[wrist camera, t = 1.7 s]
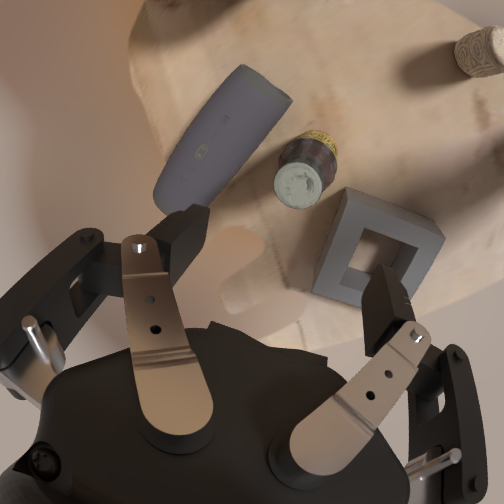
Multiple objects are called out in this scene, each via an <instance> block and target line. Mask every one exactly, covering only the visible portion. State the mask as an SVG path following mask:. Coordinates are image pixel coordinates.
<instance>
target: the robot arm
mask: <svg viewBox="0 0 504 504" xmlns="http://www.w3.org/2000/svg"><path fill="white" fill-rule="evenodd" d="M209 214H210V209H209V208H208V207H205V206H201V205H198V204H195V203H193V204H192V205H191V206H190V207H188V208H187V209H186V210H185V211H181V210H179V211H176V212H173V213H171V214H169V215H168V216H167V217H166V218H165V219H163V220H162V221H161V222H160V224H157V225H156V226H155V227H154V228H153V229H151V230H150V231H149V232H148V233H147V234H146V235H142V234H136V235H131V236H128V237H126V238H125V239H124V240H123V241H122V243H121V244H118V243H111V242H104V235H103V232H102V231H100V230H98V229H96V228H84V229H81V230H78V231H76V232H75V233H74V234H73V235H71V236H70V237H68V238H67V239H66V240H65V241H63V242H62V243H61V244H60V245H59V246H57V247H56V248H55V249H54V250H53V251H51V252H50V253H49V254H48V255H47V256H45V257H44V258H43V259H42V260H41V261H40V262H38V263H37V264H36V265H35V266H34V267H33V268H32V269H31V270H30V271H29V272H27V273H26V274H25V275H24V276H23V277H22V278H21V279H20V280H19V281H18V282H17V283H16V284H15V285H14V286H13V287H12V288H10V289H9V290H8V291H7V292H6V293H5V294H4V295H3V296H2V297H1V298H0V383H1V384H2V385H3V386H5V387H6V388H7V390H8V391H9V392H10V393H11V394H12V395H13V396H14V397H15V398H17V399H19V400H28V401H30V402H31V403H32V404H33V405H35V406H36V407H37V408H39V409H40V410H41V414H40V422H39V427H38V431H37V434H36V438H35V440H34V442H33V444H32V446H31V447H30V448H29V450H28V451H27V452H26V453H25V454H24V455H23V456H22V457H20V458H19V459H18V460H17V461H16V462H15V463H13V464H12V465H11V466H10V467H8V468H7V469H6V470H5V471H4V472H3V473H2V474H1V476H0V504H476V503H479V502H480V501H481V500H482V499H483V497H484V496H485V494H486V491H487V486H488V472H487V456H486V445H485V437H484V429H483V422H482V416H481V410H480V405H479V400H478V395H477V390H476V386H475V382H474V378H473V373H472V370H471V366H470V362H469V359H468V356H467V355H466V353H465V352H464V351H463V349H461V348H460V347H459V346H457V345H455V344H450V345H448V346H447V347H446V348H445V350H444V351H442V350H440V349H439V348H437V347H435V346H433V345H432V344H431V336H430V334H429V332H428V331H427V330H426V329H425V328H424V327H423V326H422V325H421V324H419V323H417V322H416V319H415V316H414V312H413V309H412V305H411V302H410V299H409V296H408V293H407V290H406V288H405V287H404V286H403V284H402V283H401V282H400V281H399V280H398V277H397V274H396V271H395V269H394V268H391V267H388V266H386V265H383V264H379V265H378V266H377V268H376V269H375V271H374V273H373V275H372V277H371V279H370V280H369V282H368V284H367V286H366V288H365V289H364V292H363V294H362V298H361V307H362V317H363V329H364V341H365V356H368V357H372V359H371V360H370V361H369V362H368V363H367V364H366V365H365V366H364V367H363V368H362V369H361V370H360V371H359V372H358V373H357V374H356V375H355V376H354V377H353V378H352V379H351V380H350V381H349V382H347V381H346V380H345V379H344V378H343V377H342V376H341V375H339V374H338V373H337V372H336V371H334V370H332V369H331V368H329V367H327V360H328V358H327V357H325V356H321V355H318V354H314V353H310V352H307V351H303V350H299V349H287V348H276V347H269V346H266V345H264V344H263V343H261V342H259V341H257V340H255V339H254V338H252V337H250V336H248V335H246V334H245V333H243V332H241V331H239V330H236V329H233V328H230V327H228V326H225V325H222V324H219V323H216V322H213V321H211V322H210V324H209V326H208V328H207V329H205V328H186V329H184V327H183V323H182V320H181V317H180V313H179V310H178V307H177V303H176V300H175V296H174V293H173V289H172V288H173V286H174V285H175V284H176V282H177V281H178V279H179V278H180V277H181V276H182V274H183V273H184V272H185V270H186V269H187V268H188V266H189V265H190V264H191V262H192V261H193V260H194V259H195V257H196V256H197V255H198V253H199V252H200V251H201V249H202V248H203V245H204V242H205V239H206V232H207V226H208V220H209ZM77 277H78V281H77V282H76V283H75V284H74V285H73V287H71V288H70V285H71V284H72V282H73V281H74V280H75V279H76V278H77ZM107 295H110V296H116V297H123V298H124V304H125V313H126V322H127V330H128V337H129V344H130V347H129V348H127V349H124V350H121V351H118V352H116V353H113V354H110V355H107V356H104V357H101V358H98V359H95V360H92V361H89V362H86V363H84V364H81V365H77V366H74V367H71V368H69V369H66V370H64V371H62V370H63V367H64V365H65V360H66V358H65V353H64V351H65V350H66V348H67V347H68V346H69V344H70V343H71V342H72V340H73V339H74V337H75V336H76V335H77V334H78V332H79V331H80V330H81V328H82V327H83V326H84V324H85V323H86V322H87V321H88V319H89V318H90V317H91V315H92V314H93V313H94V312H95V310H96V309H97V308H98V307H99V305H100V304H101V303H102V302H103V300H104V299H105V298H106V297H107ZM405 390H407V391H408V407H409V408H408V409H409V458H408V463H407V464H406V466H405V467H403V466H402V464H401V463H400V461H399V460H398V458H397V457H396V455H395V454H394V452H393V451H392V449H391V448H390V446H389V444H388V443H387V441H386V440H385V438H384V437H383V435H382V433H381V432H380V431H379V429H378V426H379V425H380V423H381V422H382V421H383V420H384V418H385V417H386V416H387V414H388V413H389V412H390V411H391V409H392V408H393V406H394V405H395V404H396V402H397V401H398V400H399V398H400V397H401V395H402V394H403V392H404V391H405ZM442 392H444V394H445V406H444V408H443V410H442V411H441V412H440V413H439V405H438V396H439V395H440V394H441V393H442Z"/></svg>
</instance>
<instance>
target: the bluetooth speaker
mask: <svg viewBox="0 0 504 504" xmlns="http://www.w3.org/2000/svg"><path fill="white" fill-rule="evenodd" d="M292 101H293V100H292V99H291V98H290V97H289V96H288V95H287V94H286V93H284V92H283V91H282V90H280V89H278V88H277V87H275V86H274V85H273V84H271V83H270V82H269V81H268V80H267V79H266V78H265V77H263V76H262V75H261V74H259V73H258V72H256V71H255V70H253V69H251V68H250V67H248V66H246V65H244V64H241V65H240V66H238V67H237V68H236V69H235V70H234V71H233V72H232V73H231V74H230V75H229V76H228V77H227V78H226V79H225V81H224V82H223V83H222V84H221V85H220V86H219V88H218V89H217V90H216V91H215V93H214V94H213V95H212V96H211V97H210V99H209V100H208V101H207V103H206V104H205V105H204V106H203V108H202V109H201V110H200V112H199V113H198V115H197V116H196V117H195V119H194V120H193V122H192V123H191V124H190V125H189V127H188V129H187V130H186V132H185V133H184V135H183V137H182V138H181V140H180V141H179V143H178V144H177V146H176V148H175V149H174V151H173V153H172V154H171V156H170V158H169V160H168V161H167V163H166V165H165V167H164V169H163V171H162V173H161V175H160V177H159V178H158V181H157V183H156V186H155V188H154V191H153V198H154V202H155V204H156V205H157V207H158V208H159V209H160V210H161V211H162V212H163V213H164V214H165V215H167V216H168V215H169V214H171V213H173V212H176V211H179V210H181V211H185V210H186V209H187V208H188V207H190V206H191V205H192V204H193V203H195V204H198V205H201V206H205V207H208V205H209V204H210V203H211V202H212V201H213V200H214V198H215V197H216V196H217V195H218V194H219V193H220V191H221V190H222V189H223V188H224V187H225V186H226V185H227V183H228V182H229V181H230V180H231V179H232V178H233V176H234V175H235V174H236V173H237V172H238V171H239V169H240V168H241V167H242V166H243V164H244V163H245V162H246V161H247V160H248V158H249V157H250V156H251V155H252V154H253V152H254V151H255V150H256V149H257V147H258V146H259V145H260V144H261V142H262V141H263V140H264V139H265V137H266V136H267V135H268V133H269V132H270V131H271V130H272V128H273V127H274V126H275V125H276V123H277V122H278V121H279V120H280V118H281V117H282V116H283V114H284V113H285V112H286V110H287V109H288V108H289V106H290V105H291V103H292Z"/></svg>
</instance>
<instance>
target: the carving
mask: <svg viewBox="0 0 504 504" xmlns="http://www.w3.org/2000/svg"><path fill="white" fill-rule="evenodd" d="M454 54H455V58H456V61H457V63H458V65H459V67H460V68H461V69H462V70H463V71H464V72H465V73H467V74H468V75H470V76H472V77H476V78H479V77H488V76H493V75H497V74H500V73H503V72H504V28H503V27H500V26H497V25H493V26H488V27H484V28H483V29H481V30H478V31H475V32H473V33H469V34H467V35H465V36H464V37H463V38H461V39H460V40H459V41H458V42H457V44H456V45H455V49H454Z"/></svg>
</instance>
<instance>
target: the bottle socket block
mask: <svg viewBox="0 0 504 504" xmlns="http://www.w3.org/2000/svg"><path fill="white" fill-rule="evenodd" d="M364 228H366V229H369V230H372V231H374V232H377V233H380V234H383V235H385V236H388V237H391V238H393V239H396V240H399V241H401V242H404V243H403V245H402V247H401V249H400V251H399V253H398V255H397V257H396V259H395V261H394V263H393V264H392V266H391V268H394V269H395V271H396V274H397V277H398V280H399V281H400V282H401V283H402V284H403V286H404V287H405V288H406V290H407V293H408V296H409V299H410V300H411V299H412V297H413V296H414V294H415V292H416V291H417V289H418V287H419V286H420V284H421V283H422V281H423V279H424V278H425V276H426V274H427V272H428V271H429V269H430V267H431V265H432V264H433V262H434V260H435V258H436V256H437V255H438V253H439V251H440V249H441V247H442V245H443V243H444V241H445V239H446V238H445V236H444V235H443V233H442V232H441V231H440V229H439V228H438V226H437V225H436V224H435V222H434V221H432V220H429V219H427V218H425V217H422V216H420V215H418V214H415V213H413V212H411V211H408V210H406V209H403V208H401V207H398V206H396V205H393V204H391V203H388V202H386V201H383V200H380V199H378V198H375V197H372V196H370V195H367V194H364V193H362V192H359V191H356V190H353V189H350V188H347V187H346V188H345V190H344V193H343V196H342V199H341V202H340V205H339V208H338V210H337V213H336V216H335V219H334V221H333V224H332V227H331V230H330V232H329V235H328V238H327V240H326V243H325V245H324V248H323V251H322V253H321V256H320V258H319V261H318V263H317V266H316V268H315V271H314V277H313V284H312V292H311V293H315V294H318V295H321V296H324V297H327V298H331V299H334V300H337V301H341V302H344V303H347V304H350V305H354V306H357V307H360V308H362V307H361V298H362V294H363V292H364V289H365V288H366V286H367V284H368V282H369V280H370V279H371V277H372V274H369V273H366V272H363V271H360V270H357V269H353V268H350V267H348V264H349V262H350V260H351V258H352V256H353V253H354V251H355V249H356V247H357V244H358V242H359V240H360V237H361V235H362V233H363V230H364Z"/></svg>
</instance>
